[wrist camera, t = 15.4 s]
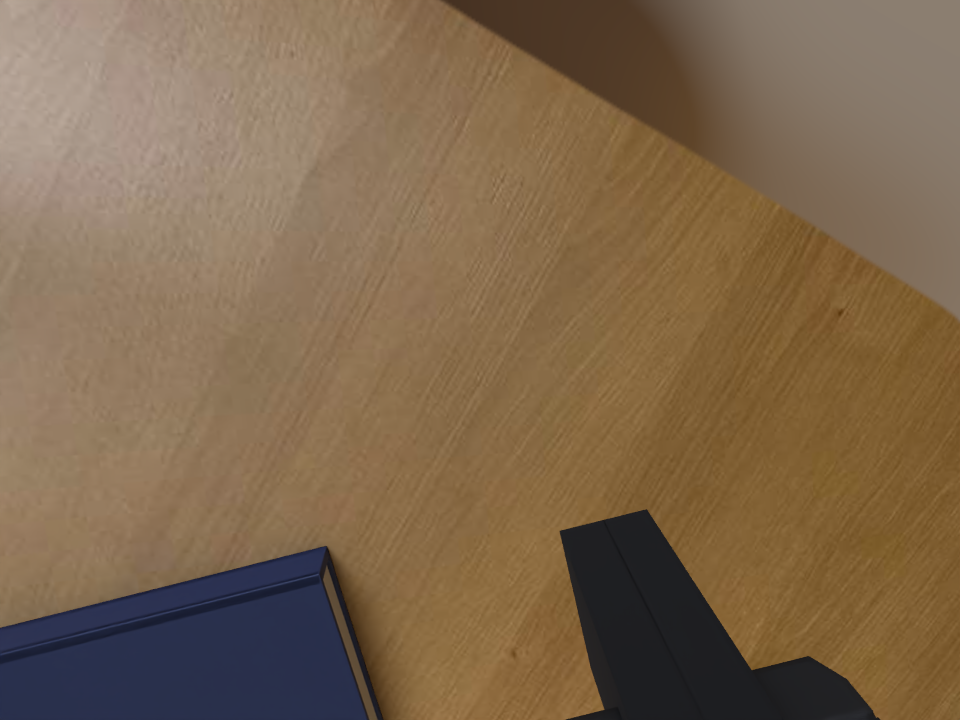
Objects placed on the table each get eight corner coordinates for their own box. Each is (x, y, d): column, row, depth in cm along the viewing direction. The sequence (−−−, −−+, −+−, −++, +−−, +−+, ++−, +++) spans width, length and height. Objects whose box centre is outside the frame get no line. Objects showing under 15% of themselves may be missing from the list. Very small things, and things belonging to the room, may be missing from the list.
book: (326, 545, 41) (319, 574, 38) (389, 737, 44) (386, 777, 41) (-102, 653, 41) (-143, 690, 38) (-7, 838, 44) (-37, 885, 41)
